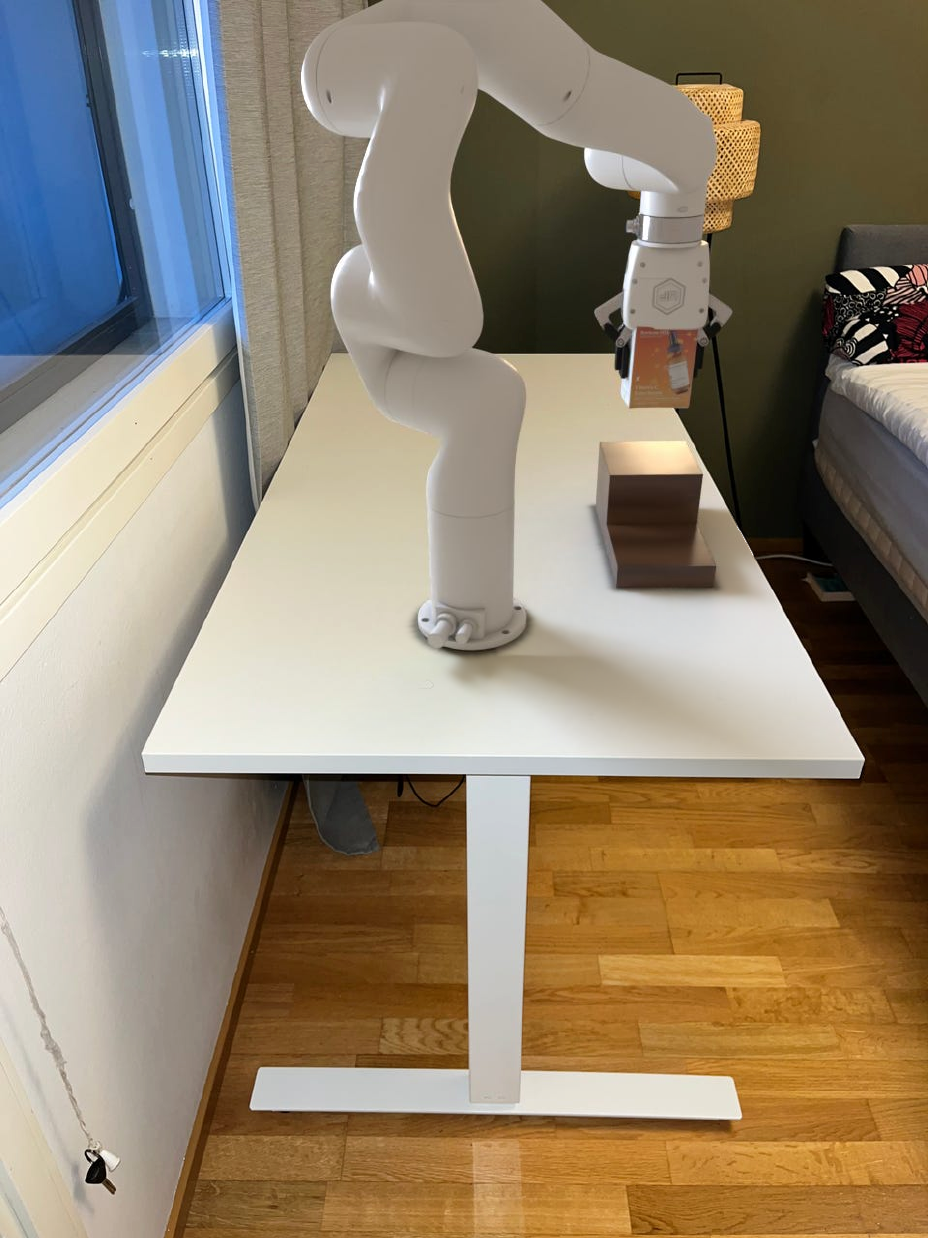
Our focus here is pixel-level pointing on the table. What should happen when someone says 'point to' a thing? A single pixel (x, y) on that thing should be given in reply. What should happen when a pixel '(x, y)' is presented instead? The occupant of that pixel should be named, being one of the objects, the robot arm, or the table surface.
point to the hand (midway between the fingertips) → (657, 374)
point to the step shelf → (652, 515)
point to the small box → (659, 368)
